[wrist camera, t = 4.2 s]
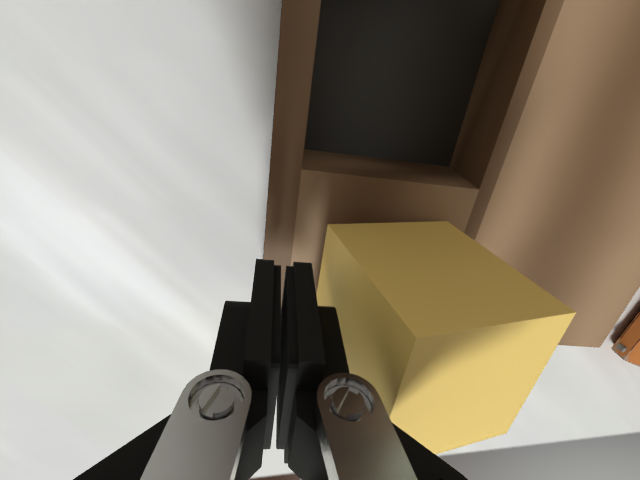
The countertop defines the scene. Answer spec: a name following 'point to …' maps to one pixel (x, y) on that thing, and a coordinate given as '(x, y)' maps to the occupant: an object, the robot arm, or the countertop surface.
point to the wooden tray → (467, 136)
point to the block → (438, 327)
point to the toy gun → (630, 343)
